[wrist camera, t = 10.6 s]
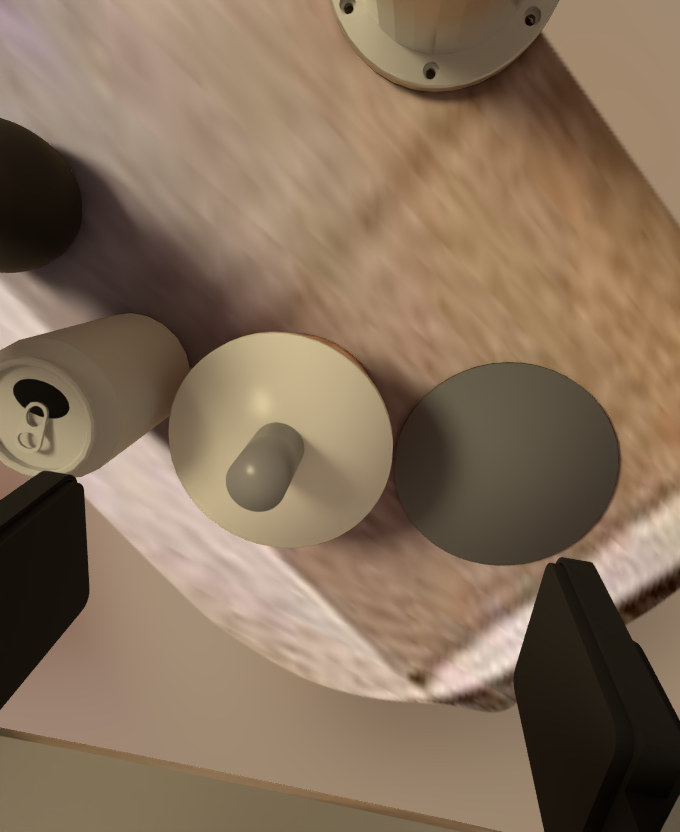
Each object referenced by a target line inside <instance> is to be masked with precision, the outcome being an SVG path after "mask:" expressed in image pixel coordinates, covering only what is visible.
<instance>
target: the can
mask: <svg viewBox="0 0 680 832" xmlns="http://www.w3.org/2000/svg"><path fill="white" fill-rule="evenodd" d="M189 372H190V368H189V364H188V359H187V355H186V353H185V351H184V349H183V347H182V346H181V344H180V342H179V340H178V338H177V337H176V336H175V335H174V334H173V333H172V332H171V331H170V330H169V329H168V328H167V327H166V326H165V325H163V324H161V323H159V322H157V321H156V320H154V319H152V318H150V317H148V316H144V315H139V314H134V313H127V314H119V315H113V316H109V317H105V318H101V319H98V320H94V321H90V322H86V323H83V324H79V325H75V326H71V327H67V328H64V329H60V330H56V331H52V332H48V333H45V334H41V335H37V336H33V337H29V338H26V339H22V340H18V341H17V342H15V343H13V344H11V345H9V346H7V347H6V348H4V349H2V350H0V460H1V461H2V462H3V463H4V464H5V465H6V466H8V467H10V468H12V469H14V470H16V471H18V472H20V473H22V474H24V475H27V476H32V477H34V476H35V475H37V474H38V473H40V472H42V471H52V472H58V473H64V474H70V475H73V476H75V477H82V476H84V475H86V474H89V473H91V472H93V471H95V470H97V469H99V468H101V467H102V466H103V465H105V464H106V463H107V462H109V461H110V460H111V459H113V458H114V457H115V456H117V455H118V454H119V453H121V452H122V451H123V450H125V449H126V448H127V447H129V446H130V445H131V444H133V443H134V442H135V441H137V440H138V439H139V438H141V437H142V436H143V435H145V434H146V433H147V432H149V431H150V430H151V429H153V428H154V427H155V426H157V425H158V424H159V423H161V422H162V421H163V420H165V419H166V418H167V417H169V416H170V413H171V409H172V405H173V402H174V399H175V396H176V393H177V391H178V390H179V388H180V386H181V384H182V382H183V380H184V379H185V378H186V376H187V375H188V373H189Z"/></svg>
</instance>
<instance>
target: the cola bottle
mask: <svg viewBox="0 0 680 832" xmlns="http://www.w3.org/2000/svg"><path fill="white" fill-rule="evenodd" d="M81 216H82V202H81V195H80V191H79V187H78V184H77V182H76V179H75V177H74V175H73V173H72V171H71V169H70V168H69V166H68V165H67V163H66V162H65V160H64V159H63V158H62V157H61V155H60V154H59V153H58V152H57V151H56V150H55V149H54V148H53V147H52V146H51V145H49V144H48V143H47V142H46V141H44V140H43V139H42V138H40V137H39V136H38V135H36V134H35V133H33V132H31V131H30V130H28V129H26V128H24V127H22V126H20V125H18V124H16V123H13V122H11V121H8V120H5V119H2V118H0V272H1V273H16V272H24V271H29V270H33V269H36V268H39V267H41V266H43V265H46V264H48V263H50V262H51V261H53V260H55V259H56V258H58V257H59V256H60V255H61V254H63V253H64V252H65V251H66V250H67V249H68V248H69V246H70V245H71V244H72V242H73V241H74V239H75V237H76V235H77V233H78V230H79V227H80V223H81Z"/></svg>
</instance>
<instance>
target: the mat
mask: <svg viewBox="0 0 680 832" xmlns="http://www.w3.org/2000/svg"><path fill="white" fill-rule="evenodd" d="M618 459H619V457H618V448H617V442H616V438H615V434H614V431H613V428H612V426H611V424H610V422H609V419H608V417H607V416H606V414H605V413H604V411H603V409H602V408H601V406H600V405H599V404H598V403H597V402H596V400H595V399H594V398H593V397H592V396H591V395H590V394H589V393H588V392H587V391H585V390H584V389H583V388H582V387H581V386H580V385H578V384H577V383H575V382H574V381H572V380H571V379H569V378H568V377H566V376H564V375H562V374H560V373H558V372H555V371H553V370H550V369H547V368H544V367H541V366H537V365H532V364H526V363H513V362H505V363H492V364H487V365H482V366H477V367H474V368H471V369H468V370H466V371H463V372H461V373H459V374H456V375H454V376H452V377H450V378H448V379H447V380H445V381H444V382H442V383H441V384H439V385H438V386H436V387H435V388H434V389H433V390H431V391H430V392H429V393H428V394H427V395H426V396H425V397H424V398H423V399H422V400H421V401H420V402H419V403H418V404H417V405H416V407H415V408H414V410H413V411H412V412H411V414H410V415H409V417H408V419H407V420H406V422H405V424H404V426H403V428H402V431H401V433H400V436H399V439H398V442H397V447H396V452H395V463H394V474H395V484H396V488H397V493H398V496H399V499H400V501H401V504H402V506H403V508H404V510H405V512H406V514H407V516H408V517H409V519H410V520H411V521H412V523H413V524H414V525H415V527H416V528H417V529H418V530H419V531H420V532H421V533H422V534H423V535H424V536H425V537H426V538H427V539H428V540H430V541H431V542H432V543H433V544H435V545H436V546H438V547H439V548H441V549H443V550H444V551H446V552H448V553H450V554H452V555H454V556H457V557H459V558H462V559H465V560H468V561H471V562H476V563H481V564H488V565H516V564H523V563H528V562H532V561H536V560H540V559H543V558H545V557H548V556H551V555H553V554H555V553H557V552H559V551H561V550H563V549H565V548H566V547H568V546H569V545H571V544H572V543H574V542H575V541H577V540H578V539H579V538H580V537H581V536H583V535H584V534H585V533H586V532H587V531H588V530H589V529H590V528H591V527H592V526H593V525H594V524H595V522H596V521H597V520H598V519H599V517H600V516H601V514H602V513H603V511H604V510H605V508H606V506H607V504H608V502H609V500H610V498H611V496H612V493H613V490H614V487H615V484H616V479H617V474H618Z"/></svg>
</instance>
